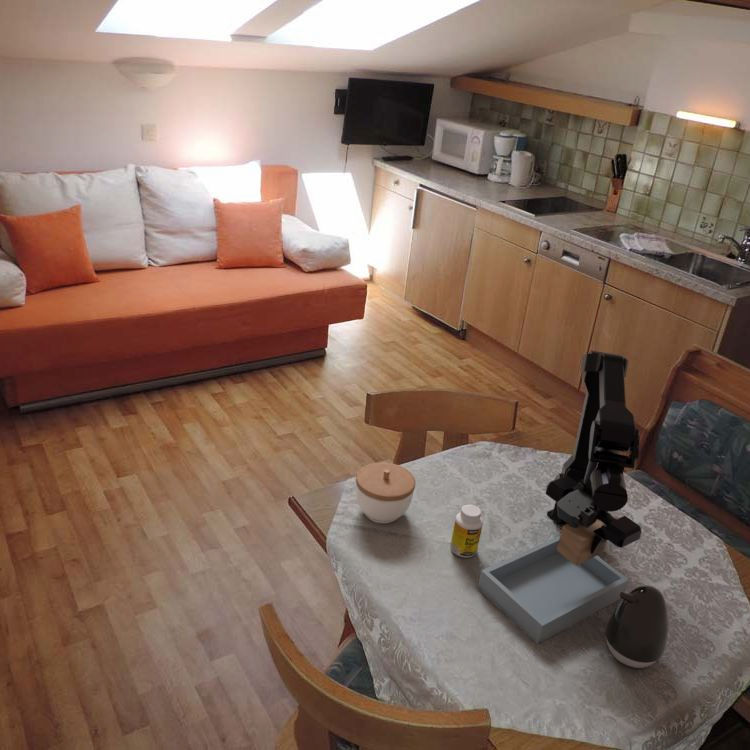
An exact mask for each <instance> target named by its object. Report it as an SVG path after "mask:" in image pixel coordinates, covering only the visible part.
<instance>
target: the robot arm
mask: <svg viewBox="0 0 750 750" xmlns="http://www.w3.org/2000/svg"><path fill="white" fill-rule="evenodd" d="M628 365H629V359H627V358H626V357H624V356H623V355H621V354H617V353H610V352H609V353H608V352H603V351H598V350H597V351H596V350H591V349H590V350H589V352H588V353H584V354H583V355H582V358H581V362H580V372H582V373H581V378H582V382H583V385H584V386H585V389H586V392H585V396H584V401H583V405H582V410H581V415H580V420H579V423H578V424H579V425H578V429H577V435H576V439H575V444H574V448H573V453H572V455H571V456H570V457H569V458H568V459H567V460H566V461H565V462H564V463H563V465H562V468H561V471H560V472H559V473H557V474H556V476H555V477H554V479H553V480H550V481H548V483H547V485H546V489H545V495H547V497H549V498H550V499H551V500H552V501H554V502H555V503H554V506H553V509H551V510H549V511H547V513H546V515H547V516H548V517H550V518H551V519H552V520H553V521H555V522H556V523H558V525H560V526H562V527H563V525H565V524H569V526H571V527H573V528H577V527H579V526H585V527H586V528H588V527H590V526H591V525H592V524H594V523H595V522H596V521H597V520H598V521H601V522H602V526H601V527H600V528H598V529H596V530H594V531H593V532H594V533H595V538H594V541H593V544H592V547H591V554H594V553H596V552H597V551H598V550H599V549H600V547H601V546H602V545H603V544H604V543H605V542H606V541H607V542H608V541H609V542H610V543H612V544H613V545H614V546H615V547H617V548H624V547H626V546H628V545H630V544H633V543H634V542H636V541H638V540H640V539H641V536H642V533H643V530H642V527H641V525H639V524H638V523H636V522H635V521H634V520H632V519H631V518H629V517H627V516H626V515H623V516H621V517H620V516H618V515H613V514H612V513H610V512H616V511H619V510H621V509H622V508H624V507H625V506H626V505H627V503H628V500H629V498H628V496H629V495H628V491H627V486H626V482H625V481H626V480H625V476H624V470H625V468H628V469H632V470H634V468H635V462H636V461H638V459H639V449H640V438H641V435H640V434H639V433H640V431H639V429H638V427H636V421H635V420H636V419H635V415H634V414H633V412H631V411H630V410H629V409H628V408H627V401H626V386H625V385H626V383H625V378H626V377H627V370H628ZM621 452H623V453H627V452H629V454H628V455H624V454H621Z"/></svg>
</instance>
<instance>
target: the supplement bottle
mask: <svg viewBox="0 0 750 750" xmlns="http://www.w3.org/2000/svg"><path fill="white" fill-rule="evenodd" d="M481 515H482V510H481V509H480V508H479V506H476V505H474V504H465V505H463V506H462V507H461V510H460V512H458V513H457V514H456V516H455V519H454V524H453V531H452V535H451V542H450V549H451V552H452V553H453V554H454V555H456V556H458V557H460V558H467V559H468V558H472V557H474V556H475V555H476V554H477V552H478V548H479V543H480V539H481V534H482V529H483V526H484V520H483V517H481Z"/></svg>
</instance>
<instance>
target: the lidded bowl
mask: <svg viewBox="0 0 750 750" xmlns="http://www.w3.org/2000/svg"><path fill="white" fill-rule="evenodd" d="M415 489H416V479H415V477H414V475H413V474H412V472H410V470H408V469H407V468H405V467H403V466H401V465H399V464H397V463H392V462H385V461H381V462H372V463H369V464H366V465H364V466H363V467H360V468H359V470H357V473H356V477H355V497H356V502H357V504H358V507H359V509H360V510H361V511H362V513H363V514H364V515H365V516H366V517H367V519H369V521H372V522H374V523H377V524H390V523H392V522H395V521H396V520H397V519H400V518H401V517H402V516H403V515H404V514H405V513H406V512H407V511H408V510H409V507H410V505H411V503H412V500H413V496H414V491H415Z"/></svg>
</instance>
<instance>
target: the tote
mask: <svg viewBox="0 0 750 750" xmlns="http://www.w3.org/2000/svg"><path fill="white" fill-rule="evenodd" d="M559 539H560V535H558V536H555V537H553V538H552V539H549V540H547V541H544V542H541V543H540V544H538V545H536V546H533V547H531V548H528V549H527V550H523V551H522V552H520V553H518V554H516V555H513V556H511V557H509V558H507V559H504V560H502V561H500V562H497V563H496V564H493V565H491V566H488V567H486V568H483V569H482V570H480V571H481V572H480V576H479V582H478V585H477V590H479V591H480V592H481V593H482V594H483V595H484V596H485V597H486V596H487V597H486V598H487V599H488V598H489V599H490V600H489V599H488V600H489V601H490V602H492V604H494V605H495V607H497V608H498V610H500V609H501V610H500V611H501V612H502V611H503V612H504V613H505V614H506V615H505V614H504V613H503V612H502V613H503V614H504V615H505V616H507V618H509V619H510V620H511V621H512V622H513V623H514V624H515V625H516V626H517V627H518V628H519V629H520V630H522V631H523V632H524V633H525V634H526V635H527V637H528V638H530V639H531V640H532V641H533V642H534V643H535V644H536V645H539V644H541V643H543V642H544V641H546V640H548V639H550V638H552V637H553V636H554V637H555V635H557V634H559V633H561V632H563V631H564V630H566V629H568V628H570V627H572V626H573V625H575V624H577V623H579V622H580V621H582V620H585V619H586V618H588V617H590V616H592V615H593V614H596V613H597V612H599V611H601V610H603V609H604V608H607V607H608V606H610V605H612V604H614V603H615V602H617V601H619V600H622V598H620V596H619V595H620V593H621V592H624V593H626V590H627V586H628V583H629V581H630V579H629V578H627V577H626V575H624V574H622V573H621V572H620V571H618V570H617V569H615V568H614V567H613V566H611V565H610V564H609V563H607V562H606V561H605V560H604V559H602V558H601V557H600V556H599V555H597V556H595V557H593V558H591V559H589V560H587V561H585V562H583V563H581V564H579V565H577V566H576V565H574V564H573V563H572V562H571V561H569V560H568V559H567V558H566V557H564V556H563V555H562V554H561V553H559V552H558V551H557V546H558V543H559Z"/></svg>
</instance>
